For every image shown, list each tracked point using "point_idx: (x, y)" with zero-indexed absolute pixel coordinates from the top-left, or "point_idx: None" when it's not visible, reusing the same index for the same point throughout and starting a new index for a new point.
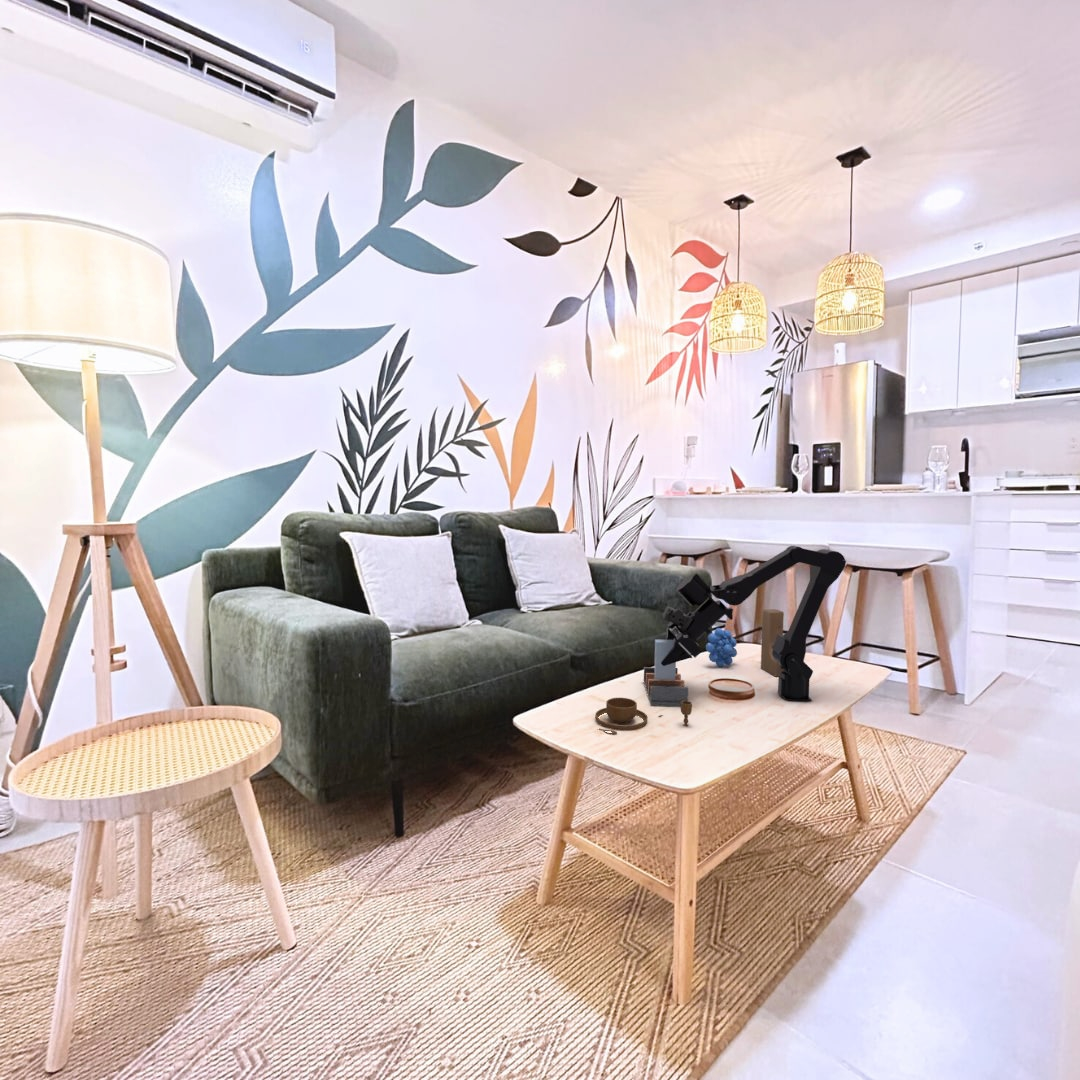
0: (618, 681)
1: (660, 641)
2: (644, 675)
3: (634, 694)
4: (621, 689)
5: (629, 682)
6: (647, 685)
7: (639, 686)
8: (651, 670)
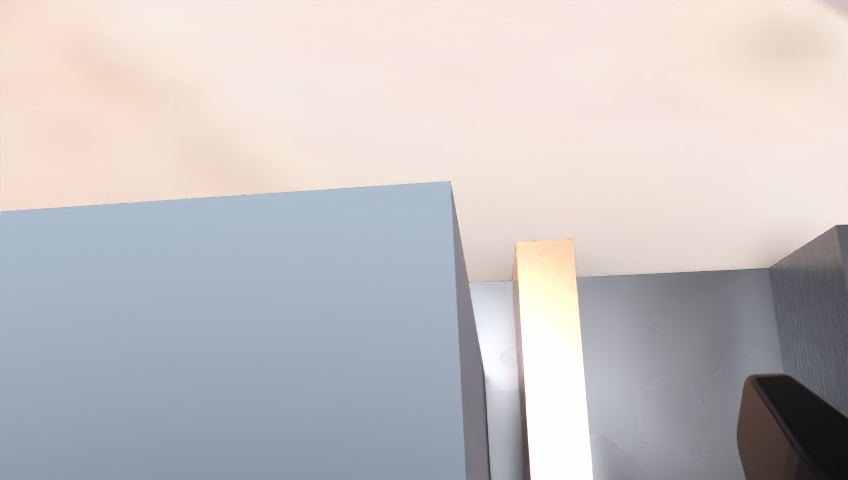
0: (800, 3)
1: (85, 402)
2: (793, 256)
3: (372, 162)
4: (519, 37)
5: (790, 117)
6: (513, 291)
7: (660, 222)
8: (841, 343)
